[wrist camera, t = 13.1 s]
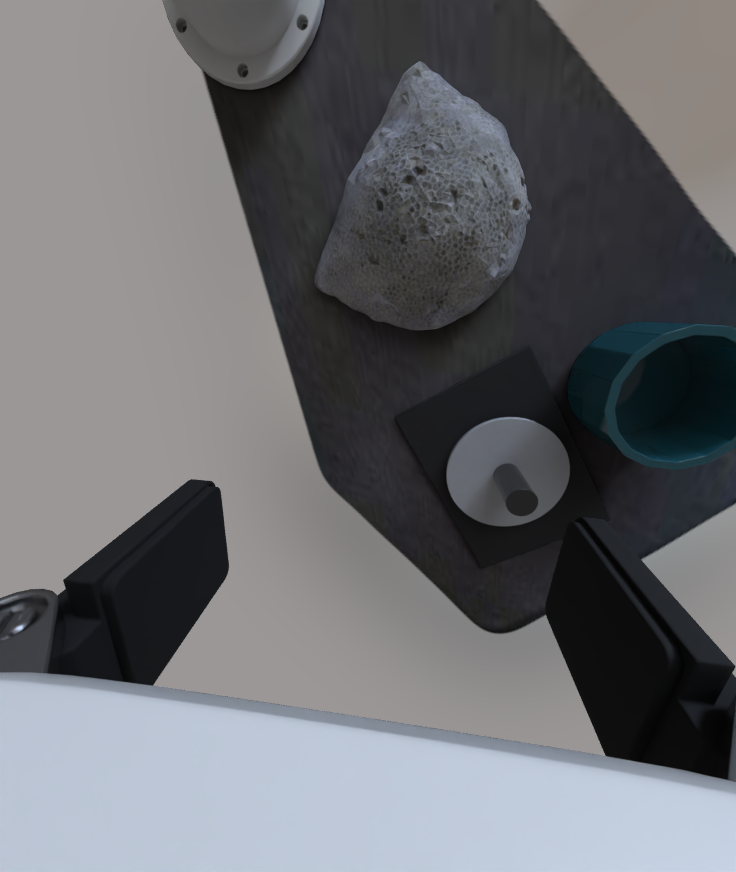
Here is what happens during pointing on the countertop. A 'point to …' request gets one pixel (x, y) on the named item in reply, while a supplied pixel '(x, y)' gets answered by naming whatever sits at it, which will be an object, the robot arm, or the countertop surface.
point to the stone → (427, 211)
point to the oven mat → (482, 401)
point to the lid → (507, 471)
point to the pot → (659, 392)
